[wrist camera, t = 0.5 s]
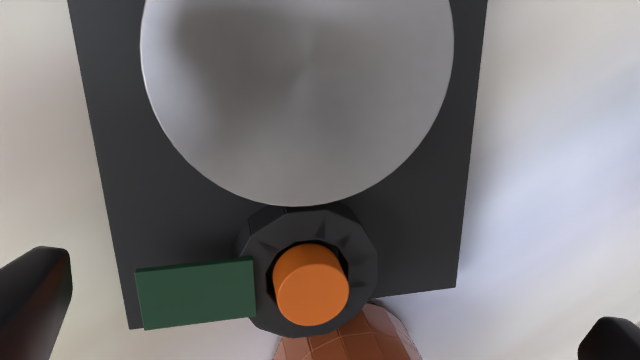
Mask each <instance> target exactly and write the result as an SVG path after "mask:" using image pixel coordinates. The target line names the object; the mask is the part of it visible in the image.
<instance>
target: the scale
mask: <svg viewBox="0 0 640 360" xmlns="http://www.w3.org/2000/svg"><path fill="white" fill-rule="evenodd" d="M67 2H68V7H69V13H70V18H71V23H72V28H73V34H74V39H75V44H76V50H77V55H78V60H79V66H80V71H81V76H82V81H83V87H84V92H85V97H86V103H87V108H88V113H89V119H90V124H91V129H92V135H93V140H94V145H95V150H96V156H97V161H98V166H99V172H100V177H101V182H102V188H103V193H104V198H105V204H106V209H107V214H108V219H109V225H110V230H111V235H112V241H113V246H114V251H115V257H116V262H117V267H118V273H119V278H120V283H121V288H122V294H123V299H124V304H125V310H126V315H127V320H128V326H129V329H130V330H131V329H139V328H144V326H143V320H142V314H141V309H140V303H139V297H138V291H137V286H136V280H135V274H134V273H135V270H136V269H139V268H148V267H157V266H167V265H176V264H185V263H195V262H204V261H213V260H222V259H232V258H241V257H250V256H252V257H253V267H254V281H255V296H256V311H257V316H252V317H248V318H249V319H250V320H251V321H252V322H253V324H254V325H255V326H256V327H258V328H259V329H262V330H265V331H268V332H271V333H274V334H277V335H280V336H284V337H287V338H292V339H294V338H301V337H308V336H316V335H323V334H326V333H327V334H329V333H330V332H332V331H333V330H335V329H337V328H338V327H340V326H341V325H343V324H345V323H346V322H348V321H349V320H351V319H353V318H354V317H356V316H357V315H358V314H359V313H360V311H361V310H362V308H363V306H364V305H365V303H366V302H367V300H368V299H371V298H378V297H386V296H394V295H402V294H409V293H417V292H425V291H432V290H440V289H448V288H455V287H456V278H457V269H458V260H459V251H460V242H461V233H462V224H463V216H464V207H465V198H466V189H467V180H468V171H469V162H470V153H471V144H472V135H473V126H474V117H475V108H476V99H477V90H478V81H479V72H480V63H481V54H482V45H483V36H484V27H485V18H486V9H487V0H449V3H450V8H451V13H452V19H453V30H454V57H453V64H452V70H451V77H450V81H449V84H448V88H447V92H446V95H445V98H444V101H443V103H442V106H441V108H440V111H439V113H438V115H437V117H436V119H435V121H434V122H433V124H432V126H431V128H430V130H429V131H428V133H427V134H426V136H425V137H424V139H423V140H422V142H421V143H420V144H419V146H418V147H417V148H416V149H415V150H414V152H413V153H412V154H411V155H410V156H409V157H408V158H407V159H406V160H405V161H404V162H403V163H402V164H401V165H400V166H399V167H398V168H397V169H395V170H394V171H393V172H392V173H391V174H389V175H388V176H386V177H385V178H384V179H382V180H381V181H379V182H378V183H376V184H375V185H373V186H371V187H369V188H367V189H366V190H364V191H362V192H360V193H357V194H355V195H352V196H350V197H347V198H345V199H341V200H338V201H334V202H330V203H327V204H320V205H313V206H297V207H289V206H278V205H270V204H266V203H261V202H257V201H253V200H250V199H247V198H244V197H241V196H239V195H236V194H234V193H232V192H230V191H228V190H226V189H224V188H222V187H220V186H218V185H217V184H215V183H214V182H212V181H211V180H209V179H208V178H206V177H205V176H203V175H202V174H201V173H200V172H199V171H197V170H196V169H195V168H194V167H193V166H192V165H191V164H189V163H188V162H187V161H186V160H185V158H184V157H183V156H182V155H181V154H180V153H179V152H178V151H177V149H176V148H175V147H174V146H173V144H172V143H171V141H170V140H169V138H168V137H167V135H166V134H165V133H164V131H163V130H162V128H161V126H160V124H159V122H158V120H157V118H156V116H155V114H154V112H153V109H152V107H151V104H150V101H149V98H148V95H147V92H146V89H145V84H144V80H143V75H142V70H141V60H140V47H139V44H140V28H141V19H142V14H143V9H144V4H145V0H67ZM306 243H313V244H319V245H322V246H324V247H326V248H328V249H330V250H331V251H332V252H333V253H334V254H335V256H336V257H337V259H338V261H339V263H340V266H341V268H342V270H343V272H344V274H345V277H346V279H347V281H348V285H349V296H348V300H347V302H346V304H345V306H344V308H343V309H342V311H341V312H340V313H339V314H338V315H337V316H335V317H334V318H333V319H331V320H329V321H328V322H325V323H323V324H319V325H315V326H303V325H298V324H295V323H293V322H291V321H289V320H288V319H287V318H286V317H285V316H284V315H283V314H282V313H281V311H280V309H279V307H278V304H277V299H276V294H275V289H274V284H273V270H274V267H275V264H276V262H277V261H278V259H279V258H280V257H281V256H282V254H284V253H285V252H286V251H287V250H289V249H290V248H292V247H295V246H297V245H300V244H306Z"/></svg>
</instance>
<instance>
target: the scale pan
mask: <svg viewBox="0 0 640 360" xmlns="http://www.w3.org/2000/svg"><path fill="white" fill-rule="evenodd" d="M139 47H140V60H141V70H142V75H143V80H144V84H145V89H146V92H147V95H148V98H149V101H150V104H151V107H152V109H153V112H154V114H155V116H156V118H157V120H158V122H159V124H160V126H161V128H162V130H163V131H164V133H165V134H166V135H167V137H168V138H169V140H170V141H171V143H172V144H173V146H174V147H175V148H176V149H177V151H178V152H179V153H180V154H181V155H182V156H183V157H184V158H185V160H186V161H187V162H188V163H189V164H191V165H192V166H193V167H194V168H195V169H196V170H197V171H199V172H200V173H201V174H202V175H203V176H205V177H206V178H208V179H209V180H211V181H212V182H214V183H215V184H217V185H218V186H220V187H222V188H224V189H226V190H228V191H230V192H232V193H234V194H236V195H239V196H241V197H244V198H247V199H250V200H253V201H257V202H261V203H266V204H270V205H278V206H289V207H297V206H313V205H320V204H327V203H330V202H334V201H338V200H341V199H345V198H347V197H350V196H352V195H355V194H357V193H360V192H362V191H364V190H366V189H367V188H369V187H371V186H373V185H375V184H376V183H378V182H379V181H381V180H382V179H384V178H385V177H386V176H388V175H389V174H391V173H392V172H393V171H394V170H395V169H397V168H398V167H399V166H400V165H401V164H402V163H403V162H404V161H405V160H406V159H407V158H408V157H409V156H410V155H411V154H412V153H413V152H414V150H415V149H416V148H417V147H418V146H419V144H420V143H421V142H422V140H423V139H424V137H425V136H426V134H427V133H428V131H429V130H430V128H431V126H432V124H433V122H434V121H435V119H436V117H437V115H438V113H439V111H440V108H441V106H442V103H443V101H444V98H445V95H446V92H447V88H448V84H449V81H450V77H451V70H452V64H453V57H454V30H453V19H452V13H451V8H450V3H449V0H145V4H144V9H143V14H142V19H141V28H140V44H139ZM134 274H135V280H136V286H137V291H138V297H139V303H140V309H141V314H142V320H143V326H144V330H152V329H160V328H168V327H175V326H183V325H191V324H198V323H206V322H214V321H221V320H229V319H237V318H244V317H252V316H257V311H256V296H255V281H254V267H253V257H252V256H250V257H241V258H232V259H222V260H213V261H204V262H195V263H185V264H176V265H167V266H157V267H148V268H139V269H136V270H135V273H134Z"/></svg>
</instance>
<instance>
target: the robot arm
mask: <svg viewBox="0 0 640 360" xmlns="http://www.w3.org/2000/svg"><path fill="white" fill-rule="evenodd" d="M72 290H73V285H72V275H71V265H70V256H69V253H68V251H67V250H65V249H63V248H55V247H47V246H38V247H35V248H33V249H32V250H30V251H28V252H27V253H25V254H23V255H22V256H20V257H19V258H17V259H15V260H14V261H12V262H10V263H9V264H7V265H6V266H4V267H2V268H1V269H0V360H49V358H50V355H51V352H52V350H53V347H54V344H55V342H56V339H57V336H58V334H59V331H60V328H61V325H62V323H63V320H64V317H65V315H66V312H67V309H68V307H69V304H70V301H71V297H72ZM578 360H640V328H639V327H637V326H636V325H635V324H633V323H632V322H631V321H629V320H627V319H623V318H616V317H602V318H600V319H599V320H598V321H597V322H596V323H595V325H594V326H593V327H592V329H591V330H590V331H589V333H588V334H587V335H586V337H585V338H584V339H583V341H582V342H581V343H580V345H579V348H578Z"/></svg>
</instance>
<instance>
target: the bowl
mask: <svg viewBox="0 0 640 360" xmlns="http://www.w3.org/2000/svg"><path fill="white" fill-rule="evenodd" d="M273 360H423V359H422V357H421V355H420V354H419V352H418V350H417V348H416V347H415V345H414V343H413V341H412V340H411V338H410V336H409V334H408V332H407V331H406V329H405V327H404V325H403V323H402V322H401V321H400V320H399V319H398V318H396V317H395V316H394V315H393V314H391V313H390V312H389V311H387V310H386V309H385V308H383V307H382V306H378V305H373V304H369V303H365V305H364V306H363V308H362V310H361V311H360V313H359V314H358V315H357V316H356V317H354V318H353V319H351V320H349V321H348V322H346V323H345V324H343V325H341V326H340V327H338V328H337V329H335V330H333V331H332V332H330V333H329V334H327V333H326V334H323V335H316V336H308V337H301V338H294V339H292V338H287V337H284V336H283V338H282V340H281V342H280V344H279V347H278V349H277V351H276V354H275V356H274V358H273Z"/></svg>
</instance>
